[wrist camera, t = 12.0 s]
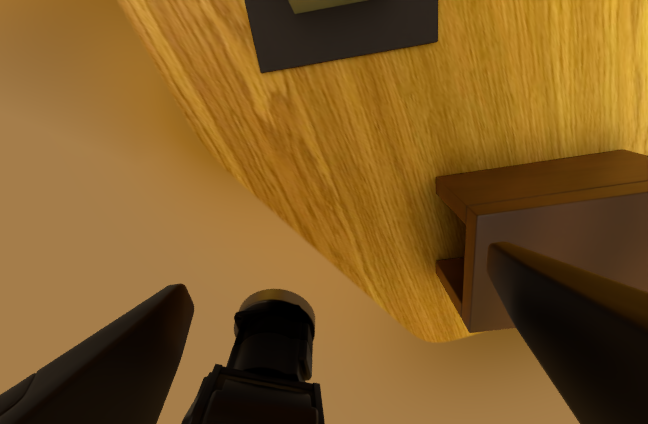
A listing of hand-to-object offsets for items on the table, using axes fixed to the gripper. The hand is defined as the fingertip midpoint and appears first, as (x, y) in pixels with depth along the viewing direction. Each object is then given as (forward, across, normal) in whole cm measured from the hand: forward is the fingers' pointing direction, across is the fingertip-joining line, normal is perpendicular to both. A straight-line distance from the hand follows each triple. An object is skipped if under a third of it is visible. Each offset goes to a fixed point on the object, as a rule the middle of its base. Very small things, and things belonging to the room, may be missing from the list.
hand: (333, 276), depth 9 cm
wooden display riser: (+12, -13, +6) cm, 19 cm away
